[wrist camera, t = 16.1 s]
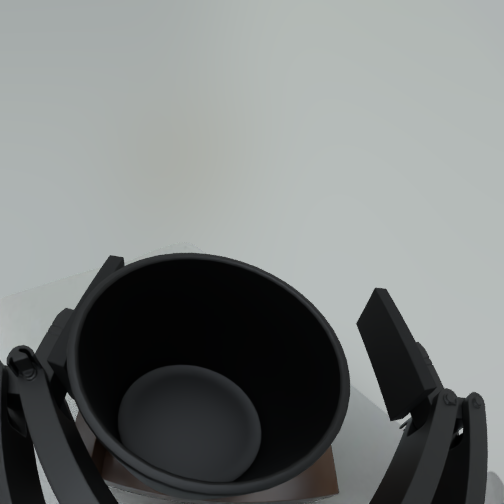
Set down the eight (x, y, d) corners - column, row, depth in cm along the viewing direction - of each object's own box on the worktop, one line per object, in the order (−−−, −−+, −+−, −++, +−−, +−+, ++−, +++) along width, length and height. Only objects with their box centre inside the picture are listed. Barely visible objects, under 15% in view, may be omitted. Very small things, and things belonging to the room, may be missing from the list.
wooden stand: (293, 373, 24) (318, 323, 20) (310, 502, 13) (355, 487, 9) (134, 354, 22) (122, 300, 19) (102, 483, 11) (63, 461, 8)
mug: (290, 366, 19) (352, 274, 14) (241, 521, 9) (331, 527, 4) (172, 315, 19) (189, 207, 15) (80, 445, 9) (8, 370, 4)
